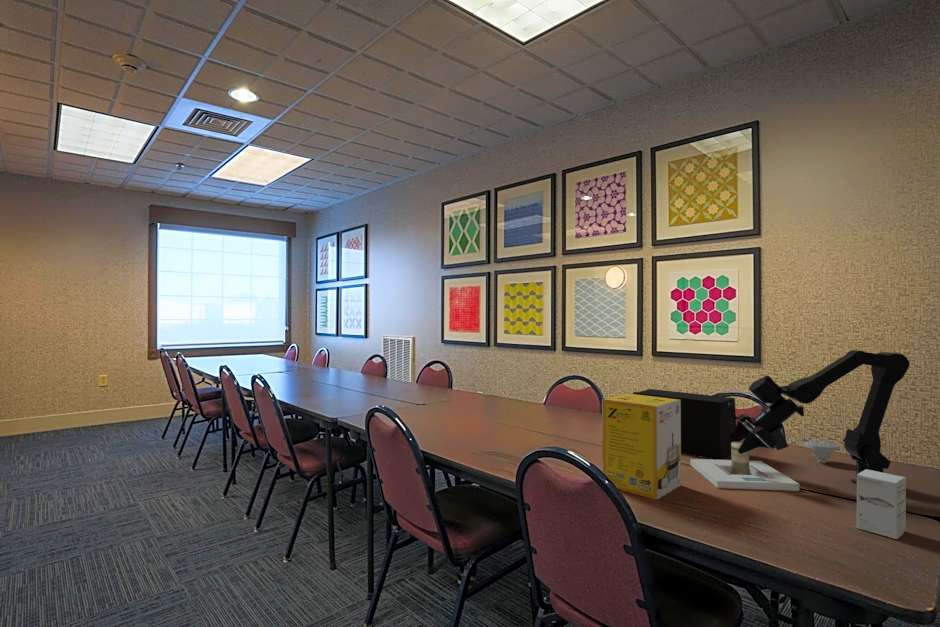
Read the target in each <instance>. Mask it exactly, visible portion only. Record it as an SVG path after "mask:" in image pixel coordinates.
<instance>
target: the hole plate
mask: <svg viewBox="0 0 940 627" xmlns="http://www.w3.org/2000/svg"><path fill="white" fill-rule="evenodd" d="M689 462H690V463H689V466H691V467H693V469H695V471H697V472H698V473H699V474H700V473H701V476H702V477H704V478H705V479H706V480H708V482H710V483H711V484H712V485H713V486H714V487H716V488H717V489H735V490H740V489H741V490H765V491H766V490H767V491H768V490H769V491H787V492H788V491H791V492H799V491H800V483H799V482H797V481H795V480H794V479H792V478H790V477H789V476H787V475H785V474H784V473H782V472H780V471H778V470H777V469H775V468H774V467H771V466H770V465H768V464H766V463H764V462H763V461H762V460H749V475H733V474H731V459H724V460H714V459H709V458H690V459H689Z"/></svg>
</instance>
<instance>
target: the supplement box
mask: <svg viewBox="0 0 940 627" xmlns="http://www.w3.org/2000/svg"><path fill="white" fill-rule="evenodd" d="M906 484H907V477H905V476H901V475H895V474H892V473H886V472H884V473H882V472H878V471H873V470H868V469H866V470H864V471H862V472H860V473H859V474H857V484H856V529H857V528H858V530H862V531H867V532H870V533H873V534H878V535H880V536H884V537H886V536H887V538H891V539H892V538H893V540H895V539H897V540H898V539H899V538H900V537H902V536H903V535H904V534H905V533H904V532H906V522H907V521H906V520H907V519H906V516H907V515H906V514H907V510H906V509H907V502H906V499H907V497H906V494H907V490H906V489H907V486H906Z"/></svg>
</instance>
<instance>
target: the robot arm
mask: <svg viewBox="0 0 940 627" xmlns="http://www.w3.org/2000/svg"><path fill="white" fill-rule="evenodd" d="M910 364H911V363H910V360H909V359H908V358H907V357H906V356H905V355H904V354H902V353H899V352H898V353H897V352H890V351H889V352H888V351H887V352H886V351H879V352H877V353H872V352H867V351H864V350H859V349H858V350H857V349H852V350H849V351H847V352H846V354H845V355H843V356H841V357H839V358H838V359H837V360H835V361H833V362H832V363H829V364H828V365H827V366H825V367H824V368H822V369H820V370H819V371H817V372H816V373H814V374H812V375H810V376H806V377H803V378H800V379H797V380H794V381H793V382H790V383H788V385H783V386H781V385H780V386H779V385H778V384H777V383H776V382H775V381H774V379H773V378H772V377H770V376H769V375H767V374H765V375H764V376H762V377H761V378H759V379H757V380H755V381H753V382H752V383H751V384H750V385H749V386H748V391H750V392H751V394H753V395H754V396H755V397H756V398H757V399H758V400H759V401H760V402H762V404H765V405H766V404H769V405H768V406H767V407H766V408H763V407H762V408H761V409H760V413H758V415H756V416H755V417H753V416H752V417H750V416H749V415H748V414H745V413H741V414H740V415H739V416H737V417H738V419H737V420H736V429H735V431H734V434H733V436H732V439H731V441H730V444H731V442H741V441H743V443H742V445H741V446H740V448H739V450H738V452H739V453H740V454H742V453H745V452H747V451H749V452H750V451H752V450H755V449H758V448H765V449H770V448H771V450H774V449H776V451H781V450H783V449H785V448H789V443H788V442H787V440H786V438H785V436H784V434H783V433H782V431H781V430H782V429H783V428H784V425H783V423H785V422H786V421H787V420H789V418H791V416H793V415H794V414H797V415H799V416H800V417H804V416H805V413H804V409H805V407H804V406H802V405H798V404H797V403H796V402H798V403H801V404H804V405H805V404H808V405H809V404H810V403H812V402H814V401H815V400H817V398H819V397H820V396H821V395H822V393H823V391H824V390H825V389H826V388H827V387H828V386H830V385H831V384H833V383H834V382H837V381H838V380H840V379H841V378H843V377H844V376H846V375H848V374H849V373H851V372H852V371H854V370H856V369H857V368H859V367H861V366H863V365H864V366H865V365H866V366H870V371H871V376H872V382H871V385H870V388H869V391H868V395H867V397H866V400H865V404H864V406H863V410H862V411H861V412H862V413H861V415H860V418H859V421H858V424H857V426H856V427H855V428H854V429H850V428H847V429H846V431H845V432H846V433H845V437H844V438H843V439H842V442H844V443H843V446H844V449H845V451H846V452H847V453H848V454H849V455H850V458H851V460H853V461H856V463H855V464H856V465H855V477H856V478H855V479H853V478H852V479H850V481H851V482H852V483H854V484H856V485H857V474H859V473H860V472H862V471H864V470H866V469H868V470H873V471H878V472H882V473H885V472H884V470H885V469H887V470H888V469H889V468H890V466H891V463H892V462H891V461H890V459H888V458H887V457H886V456H885V455H884V454H882V453H881V449H882V440H881V437H880V431H881V430H880V429H881V426H882V423H883V420H884V418H885V414H886V411H887V408H888V405H889V403H890V399H891V397H892V394H893V390H894V387H895V386H896V384H897V383H898V382H900V381H901V380H902V379H903V378H904V377H905V374H907V372H908V370H909V368H910ZM784 396H785V397H784ZM786 396H787V397H788V399H786ZM794 401H795V402H794Z"/></svg>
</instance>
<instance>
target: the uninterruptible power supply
mask: <svg viewBox="0 0 940 627" xmlns="http://www.w3.org/2000/svg"><path fill="white" fill-rule="evenodd" d="M632 394H636V395H645V396H653V397H662V398H670V399H679V400H681V454H683V453H686V454H685V455H688V454H691V455H690V456H693V455H696V456H695V457H698V456H702V457H701V458H703V457H706V458H705V459H709V458H711V459H713V460H714V459H717V460H723V459H724V460H726V459H728V458H729V457H731V456H730V455H731V444H730V441H731V439H732V436H733V434H734V431H735V429H736V426H737V420H739V419H738V417H739V416H736V398H735V397H728V396H719V395H710V394H702V393H701V394H699V393H691V392H682V391H681V392H680V391H675V390H673V391H672V390H663V389H653V388H647V389H646V390H641V391H633V392H632ZM728 456H729V457H728ZM727 457H728V458H727ZM725 458H726V459H725Z"/></svg>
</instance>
